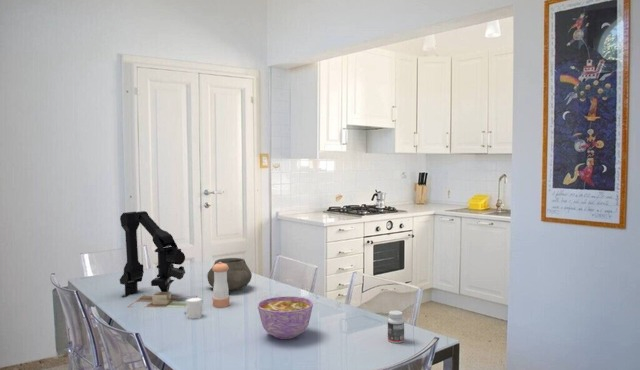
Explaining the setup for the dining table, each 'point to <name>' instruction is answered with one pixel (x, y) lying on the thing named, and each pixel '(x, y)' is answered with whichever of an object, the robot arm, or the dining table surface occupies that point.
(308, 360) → the dining table surface
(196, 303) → the white cylinder
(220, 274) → the salt shaker
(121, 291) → the dining table surface
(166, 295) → the birch block
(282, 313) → the bowl of food
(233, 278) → the clay pot
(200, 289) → the dining table surface
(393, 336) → the pill bottle
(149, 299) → the trap deck
